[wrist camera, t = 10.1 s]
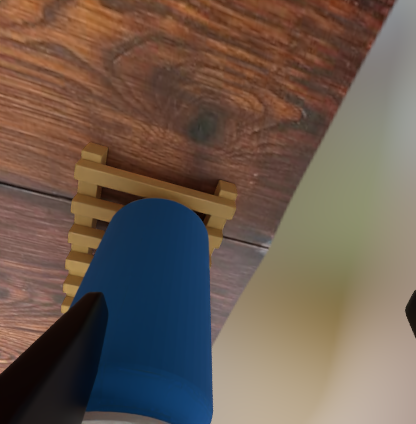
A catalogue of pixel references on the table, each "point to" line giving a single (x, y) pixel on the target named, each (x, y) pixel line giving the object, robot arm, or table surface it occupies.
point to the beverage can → (153, 317)
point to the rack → (105, 210)
